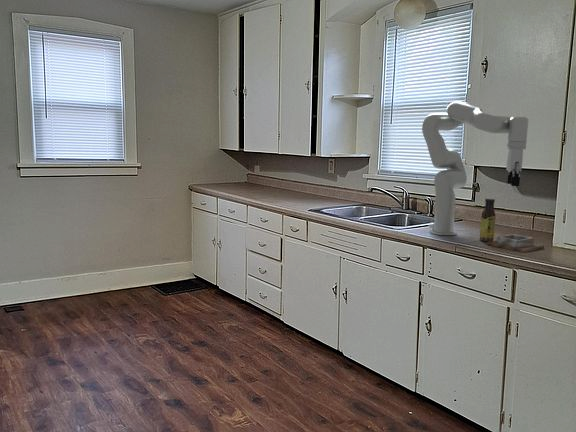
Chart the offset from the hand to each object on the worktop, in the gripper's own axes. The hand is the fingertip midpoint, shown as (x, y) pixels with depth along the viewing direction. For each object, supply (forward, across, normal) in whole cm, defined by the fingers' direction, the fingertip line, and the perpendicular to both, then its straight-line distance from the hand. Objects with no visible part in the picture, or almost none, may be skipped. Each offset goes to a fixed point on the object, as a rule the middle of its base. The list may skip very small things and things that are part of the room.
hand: (513, 184), depth 238 cm
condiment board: (+28, +1, +3) cm, 28 cm away
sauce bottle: (+28, -10, -8) cm, 31 cm away
